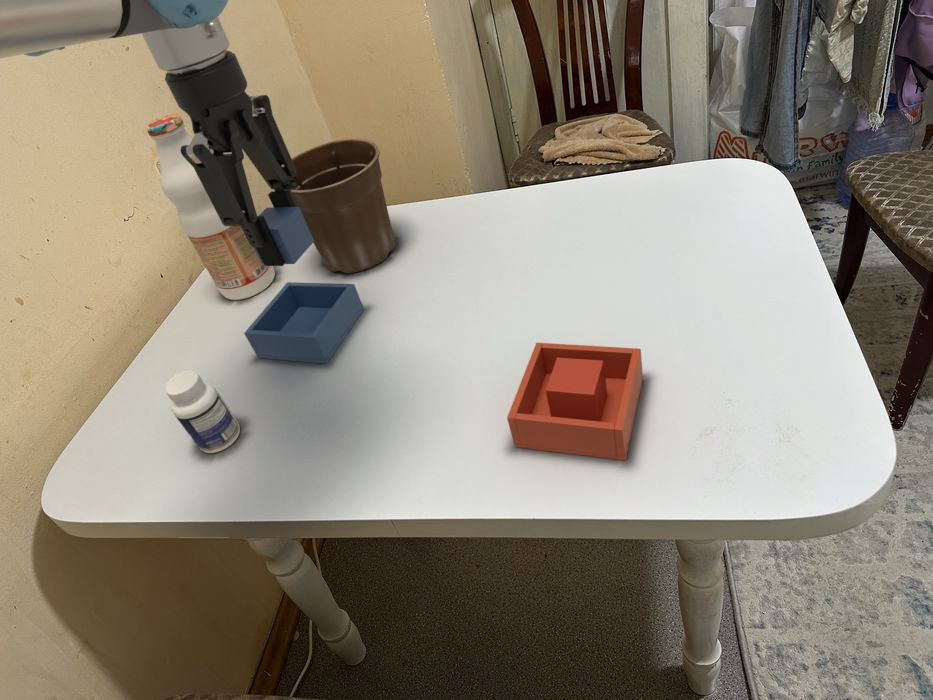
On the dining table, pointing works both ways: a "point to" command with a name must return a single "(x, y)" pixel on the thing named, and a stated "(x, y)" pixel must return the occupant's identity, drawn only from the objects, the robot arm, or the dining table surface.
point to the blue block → (288, 232)
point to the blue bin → (305, 322)
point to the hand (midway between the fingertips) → (287, 250)
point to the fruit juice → (206, 217)
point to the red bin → (575, 435)
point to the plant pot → (344, 203)
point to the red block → (577, 389)
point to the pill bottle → (202, 412)
